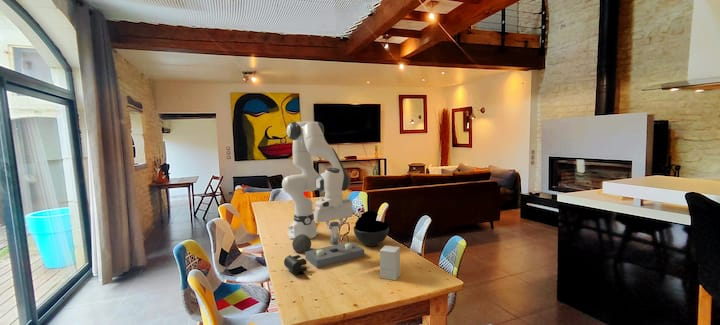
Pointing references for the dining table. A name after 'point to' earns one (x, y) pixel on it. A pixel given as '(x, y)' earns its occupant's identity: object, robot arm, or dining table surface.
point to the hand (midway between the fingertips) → (334, 228)
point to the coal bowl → (370, 229)
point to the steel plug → (334, 233)
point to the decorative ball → (301, 243)
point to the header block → (334, 254)
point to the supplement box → (390, 262)
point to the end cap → (295, 264)
